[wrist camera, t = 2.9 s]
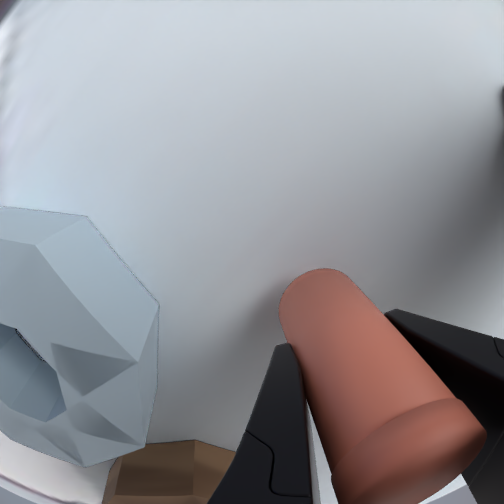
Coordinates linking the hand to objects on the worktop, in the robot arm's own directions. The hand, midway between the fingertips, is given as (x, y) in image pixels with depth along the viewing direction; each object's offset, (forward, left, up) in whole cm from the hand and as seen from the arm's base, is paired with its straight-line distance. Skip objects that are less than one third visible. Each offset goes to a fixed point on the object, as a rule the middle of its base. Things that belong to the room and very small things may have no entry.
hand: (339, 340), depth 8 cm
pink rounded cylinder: (0, 0, -2) cm, 2 cm away
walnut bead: (+9, +12, -3) cm, 15 cm away
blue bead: (+11, -1, -3) cm, 11 cm away
